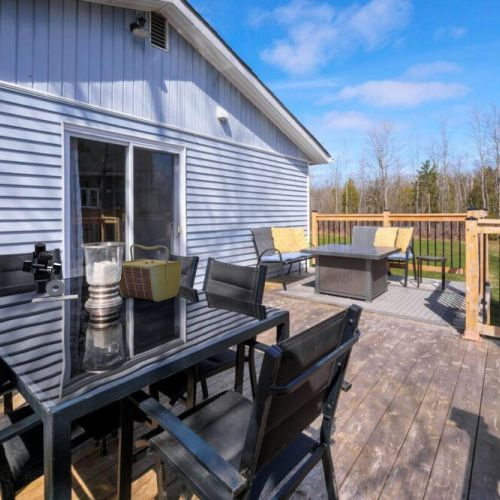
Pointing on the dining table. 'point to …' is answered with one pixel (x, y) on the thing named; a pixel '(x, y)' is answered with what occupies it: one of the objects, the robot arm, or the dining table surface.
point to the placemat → (55, 298)
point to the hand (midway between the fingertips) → (42, 273)
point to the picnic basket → (150, 277)
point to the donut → (58, 292)
